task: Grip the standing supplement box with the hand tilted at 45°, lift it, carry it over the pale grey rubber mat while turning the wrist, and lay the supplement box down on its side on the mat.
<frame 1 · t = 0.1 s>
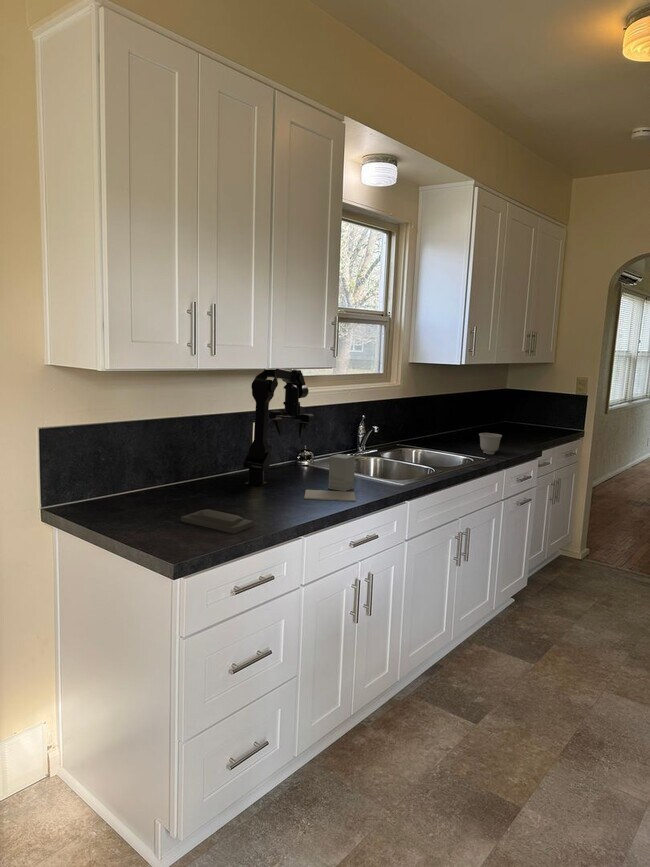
hand: (290, 436, 272), 15 cm above the worktop, tool pointing down, fingers open, 9 cm apart
soap mold: (217, 525, 196), on the worktop
grey mat: (329, 496, 235), on the worktop
teacup: (488, 453, 344), on the worktop
supplement box: (340, 489, 248), on the worktop
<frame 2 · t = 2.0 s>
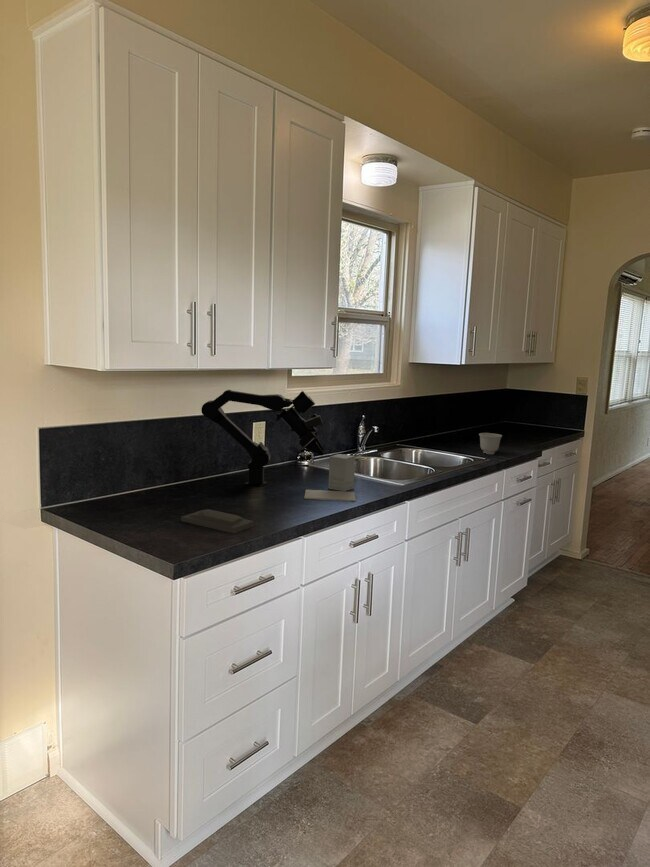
hand: (322, 452, 246), 13 cm above the worktop, tool tilted 45°, fingers open, 9 cm apart
nothing on the worktop moved.
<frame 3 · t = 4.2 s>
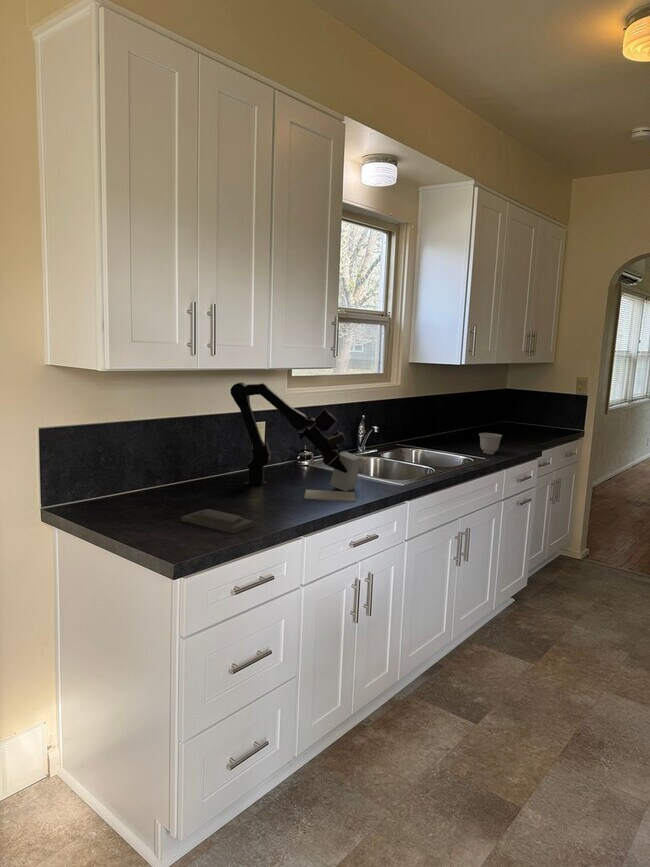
hand: (346, 469, 246), 8 cm above the worktop, tool tilted 45°, fingers closed on supplement box, 9 cm apart
supplement box: (341, 487, 247), point 1 cm above the worktop, touching gripper
everything else where it was.
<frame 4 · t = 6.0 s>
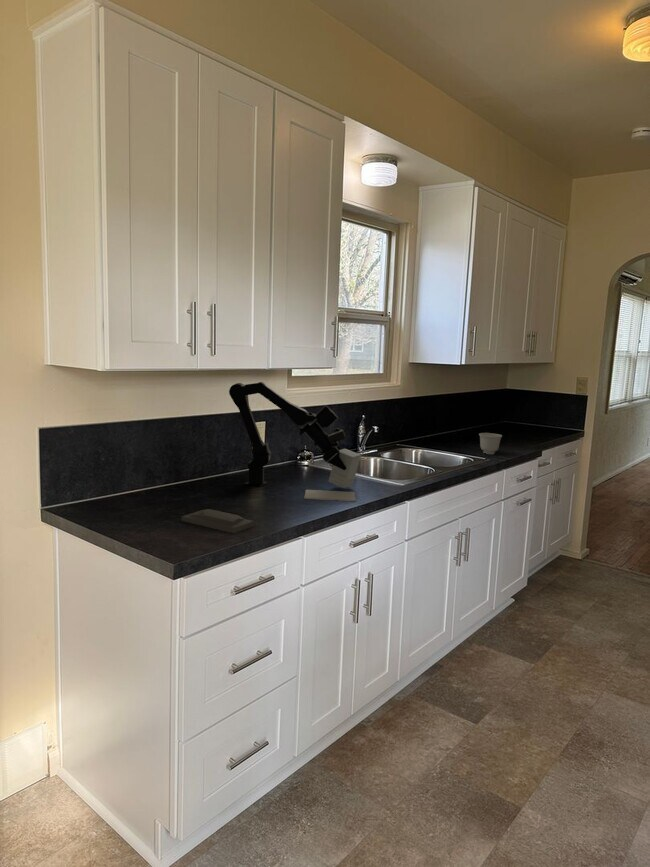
hand: (345, 466, 246), 8 cm above the worktop, tool tilted 45°, fingers closed on supplement box, 9 cm apart
supplement box: (340, 483, 248), point 2 cm above the worktop, touching gripper
everything else where it was.
when the fingers open (11 cm above the worktop, at t = 7.1 s): supplement box moves 3 cm, resting on grey mat.
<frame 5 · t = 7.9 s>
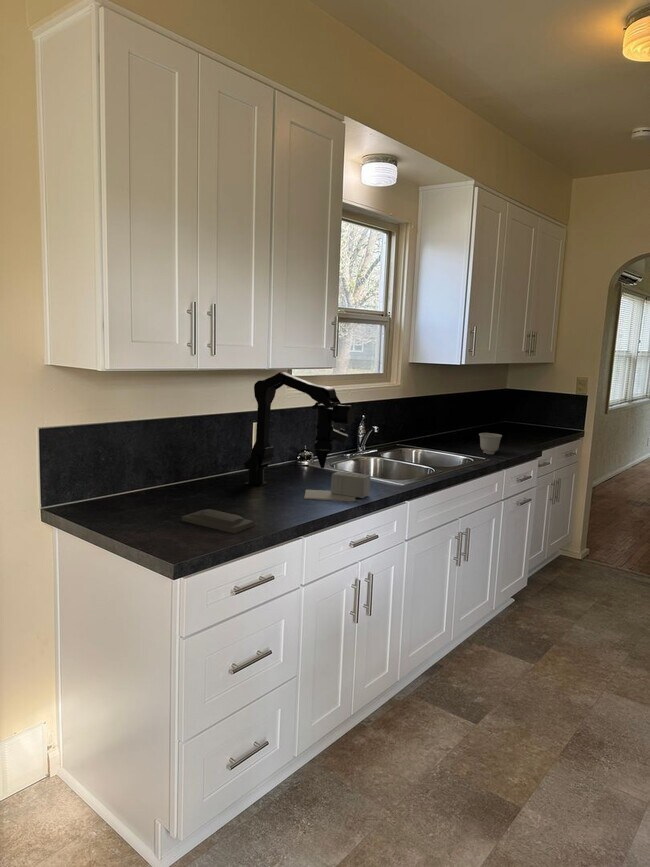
hand: (322, 465, 234), 11 cm above the worktop, tool pointing down, fingers open, 8 cm apart
supplement box: (334, 481, 240), point 4 cm above the worktop, touching grey mat
everything else where it was.
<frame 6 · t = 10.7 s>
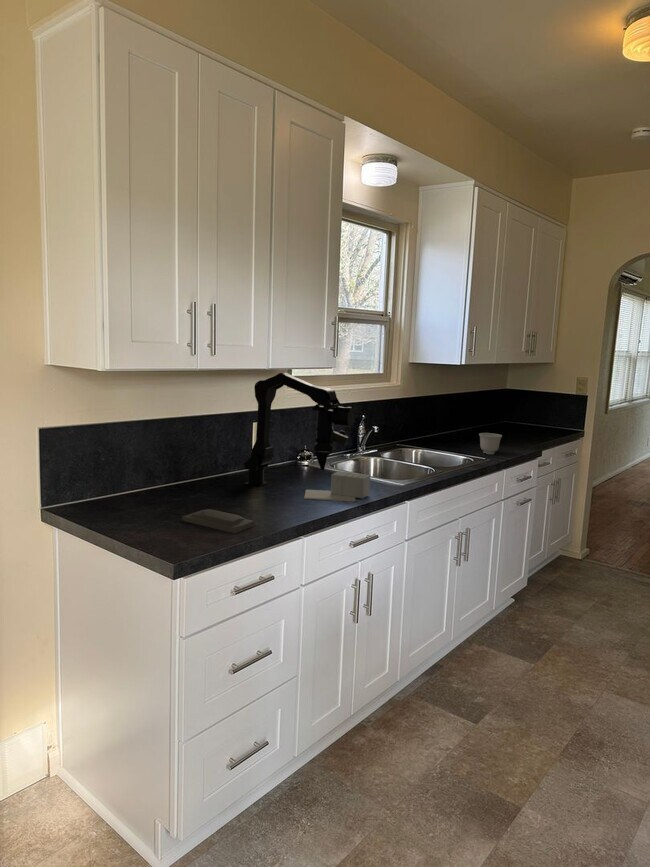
hand: (322, 467, 234), 10 cm above the worktop, tool pointing down, fingers open, 9 cm apart
nothing on the worktop moved.
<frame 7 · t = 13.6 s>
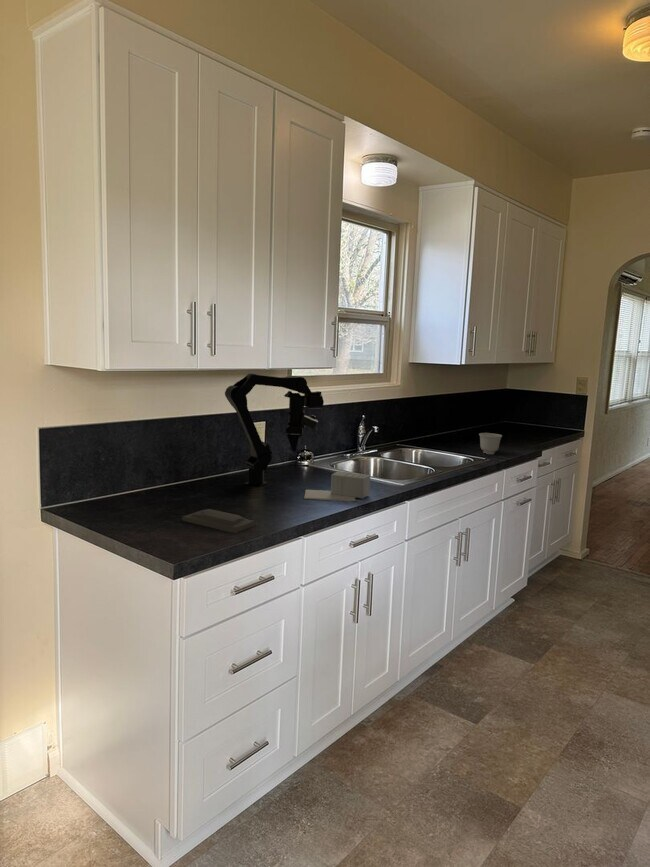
hand: (294, 449, 253), 13 cm above the worktop, tool pointing down, fingers open, 9 cm apart
nothing on the worktop moved.
at the end: supplement box tilted 91°; supplement box 4.9 cm from the grey mat (horizontally); supplement box touching grey mat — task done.
